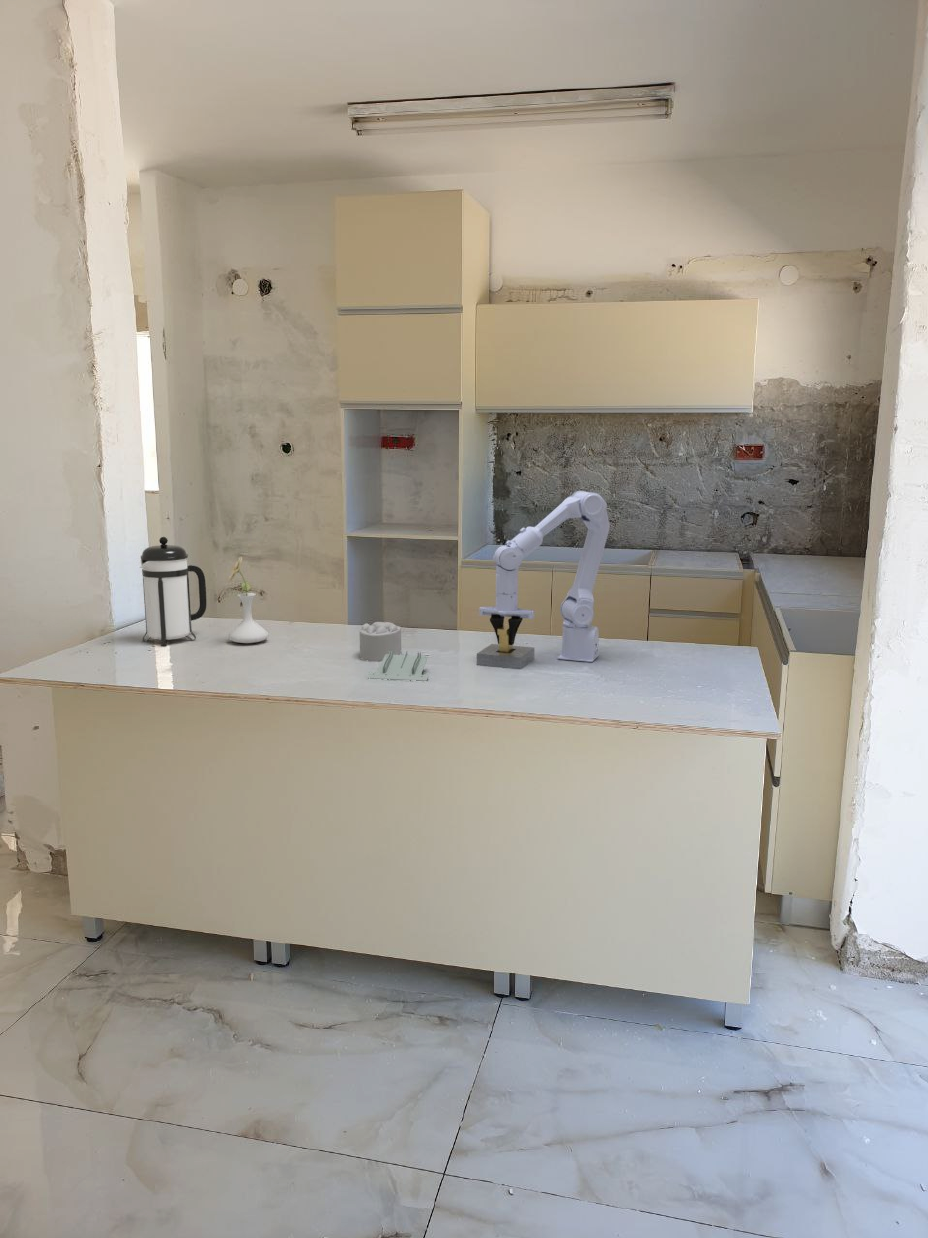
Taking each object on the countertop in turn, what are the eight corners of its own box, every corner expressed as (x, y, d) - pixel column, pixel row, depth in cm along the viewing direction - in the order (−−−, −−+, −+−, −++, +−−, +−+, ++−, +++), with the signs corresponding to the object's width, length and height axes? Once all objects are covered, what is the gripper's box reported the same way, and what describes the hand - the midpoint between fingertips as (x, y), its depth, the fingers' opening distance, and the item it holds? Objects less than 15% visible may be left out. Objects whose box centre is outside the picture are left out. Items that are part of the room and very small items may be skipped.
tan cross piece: (514, 652, 246) (514, 624, 244) (506, 658, 240) (506, 629, 238) (505, 651, 247) (505, 623, 245) (497, 657, 241) (497, 629, 239)
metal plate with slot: (534, 658, 247) (534, 647, 246) (520, 669, 236) (521, 657, 235) (491, 654, 251) (491, 643, 250) (476, 664, 240) (476, 653, 239)
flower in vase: (237, 636, 272) (233, 552, 267) (274, 638, 271) (271, 553, 266) (219, 646, 260) (215, 558, 255) (258, 648, 258) (255, 559, 253)
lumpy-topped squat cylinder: (404, 651, 255) (404, 620, 253) (391, 662, 243) (391, 630, 241) (368, 649, 257) (367, 618, 255) (353, 660, 245) (353, 628, 243)
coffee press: (191, 646, 259) (185, 539, 254) (134, 646, 260) (127, 539, 254) (208, 633, 276) (203, 533, 271) (155, 633, 277) (149, 533, 271)
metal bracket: (378, 646, 237) (435, 648, 234) (379, 665, 239) (437, 668, 237) (364, 675, 224) (425, 677, 222) (366, 695, 227) (426, 698, 224)
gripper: (475, 593, 239) (474, 644, 241) (529, 596, 234) (528, 649, 236) (484, 589, 245) (483, 639, 248) (536, 592, 240) (535, 643, 243)
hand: (505, 643), depth 243 cm, fingers closed on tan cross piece, 2 cm apart
